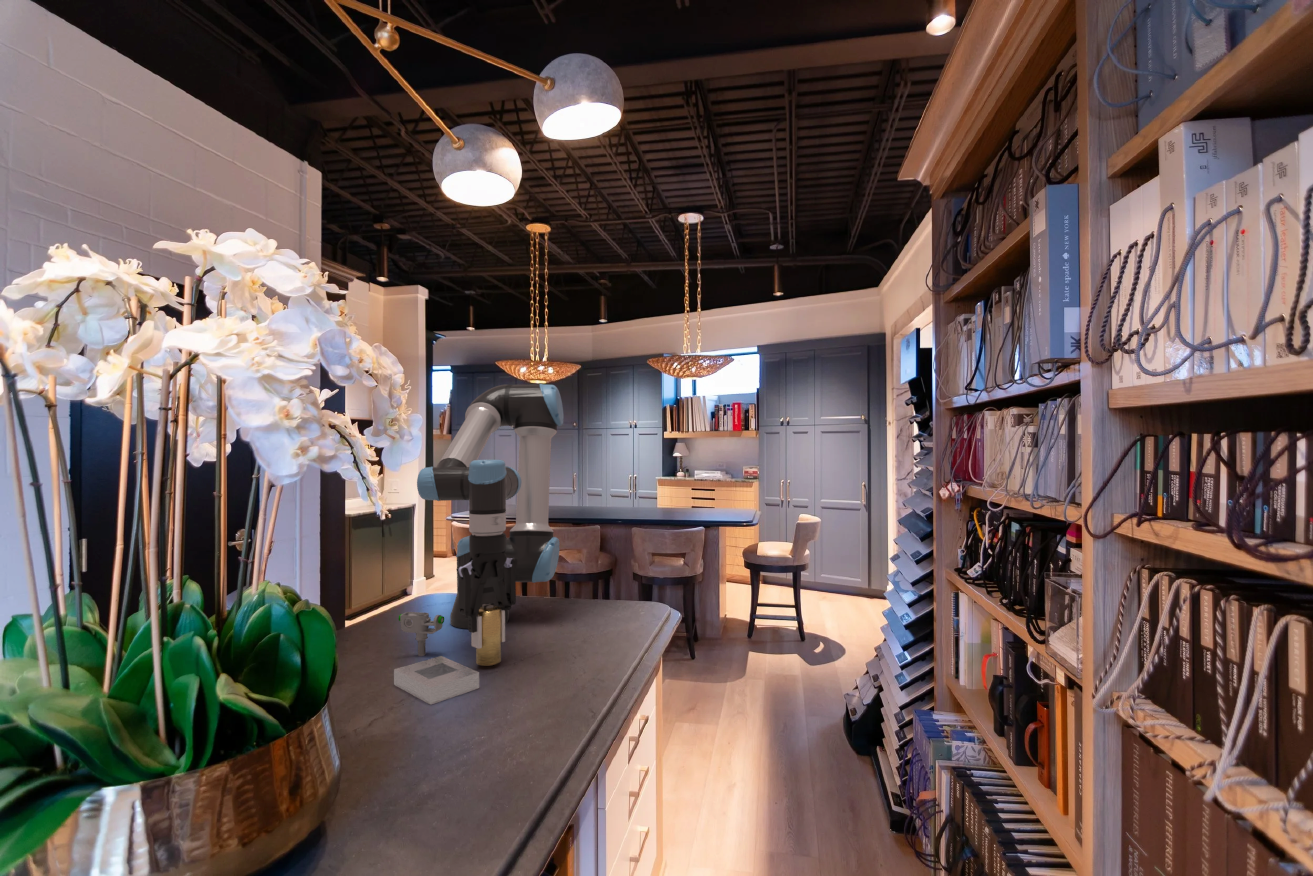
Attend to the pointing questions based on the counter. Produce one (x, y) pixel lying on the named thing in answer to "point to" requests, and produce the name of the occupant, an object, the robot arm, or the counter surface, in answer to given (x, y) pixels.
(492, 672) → the counter surface
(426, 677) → the housing
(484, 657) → the brass capped cylinder
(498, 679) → the counter surface
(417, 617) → the mechanical component
